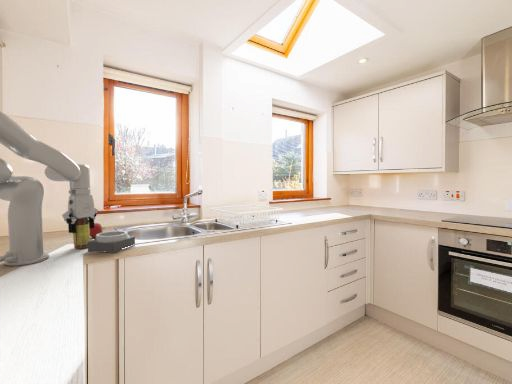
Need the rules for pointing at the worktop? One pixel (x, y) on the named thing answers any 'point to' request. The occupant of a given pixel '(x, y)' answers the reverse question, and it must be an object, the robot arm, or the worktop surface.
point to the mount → (111, 241)
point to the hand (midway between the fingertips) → (82, 230)
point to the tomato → (95, 230)
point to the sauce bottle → (81, 233)
